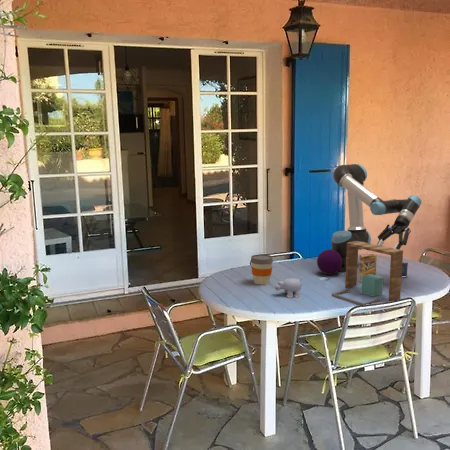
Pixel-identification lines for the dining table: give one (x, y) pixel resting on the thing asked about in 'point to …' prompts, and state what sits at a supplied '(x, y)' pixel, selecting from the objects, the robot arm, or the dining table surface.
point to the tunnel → (395, 253)
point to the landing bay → (351, 299)
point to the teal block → (372, 285)
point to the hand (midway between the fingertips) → (384, 252)
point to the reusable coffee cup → (261, 268)
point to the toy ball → (329, 261)
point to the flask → (404, 268)
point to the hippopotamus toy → (290, 287)
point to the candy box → (367, 265)
